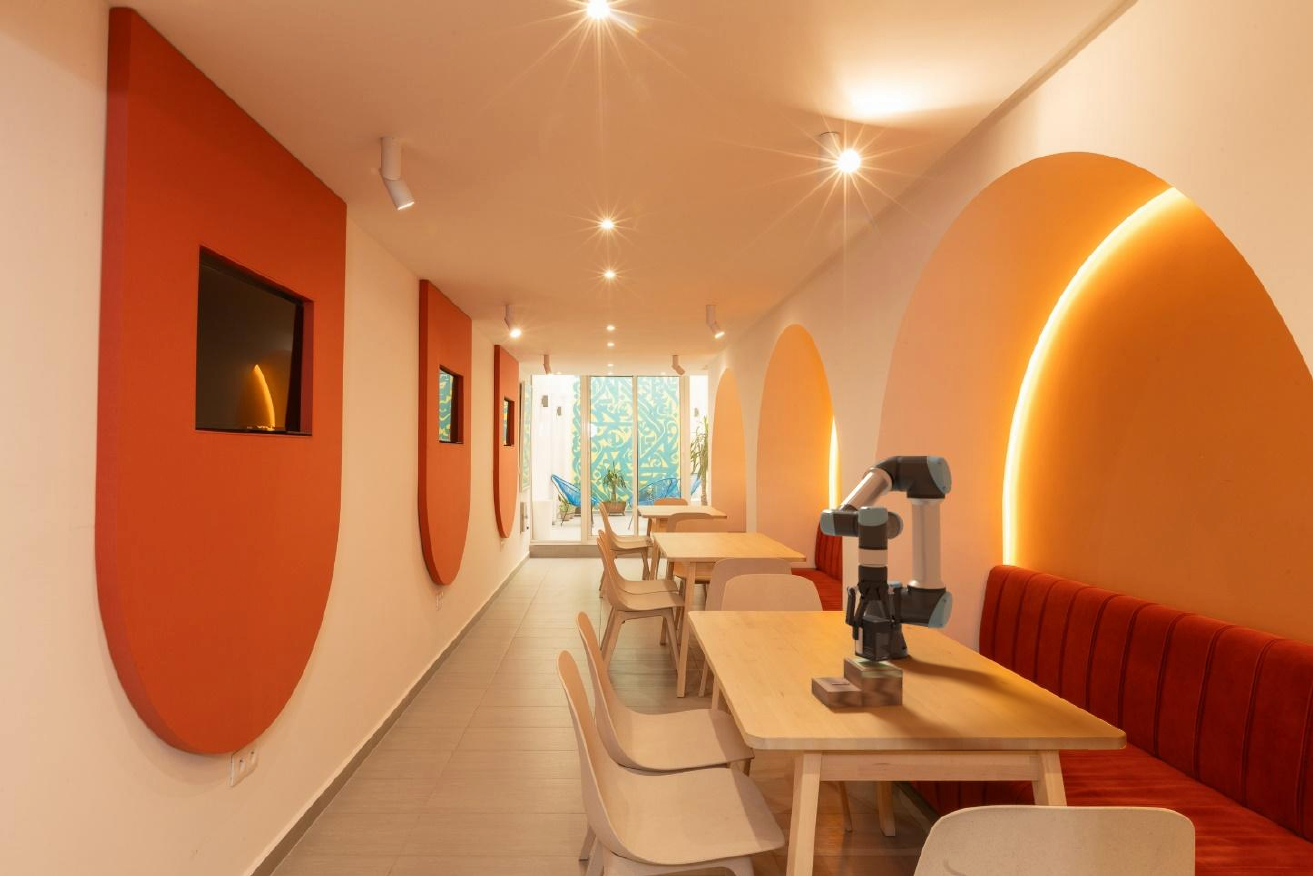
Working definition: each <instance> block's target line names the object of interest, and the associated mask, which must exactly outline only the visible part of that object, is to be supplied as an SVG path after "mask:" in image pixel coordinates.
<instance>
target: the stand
mask: <svg viewBox="0 0 1313 876" xmlns="http://www.w3.org/2000/svg"><path fill="white" fill-rule="evenodd" d="M903 677H904V670H903V669H902V668H900V667H899V666H897V665H895V664H893V663H892V662H890V660H889V661H882V662H873V661H870V660H867V659H864V658H861V657H852V658H843V676H833V677H832V676H831V677H829V676H828V677H811V694H812V695H813V696H815V698H816V699H818V701H820V702H821V703H822V704H823V705H825V707H826V708H829V709H830V708H834V709H835V708H856V707H857V708H858V707H859V708H861V707H863V708H865V707H889V706H890V707H891V706H895V707H896V706H903V693H904V692H903V690H904V689H903V688H904V687H903V686H904V683H903Z"/></svg>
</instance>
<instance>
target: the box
mask: <svg viewBox="0 0 1313 876" xmlns="http://www.w3.org/2000/svg"><path fill="white" fill-rule="evenodd" d="M860 628H862V654H859V653H858V652H856V651H855V650H854V656H856V657H857V658H864V659H867V660H870V661H873V662H882V661H889V662H890V661H891V660H892V659H891V620H888V619H884V618H880V617H876V616H873V615H865V614H864V616H863V619H862V621H861V624H860ZM855 645H856V640H854V646H855Z"/></svg>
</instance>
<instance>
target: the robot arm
mask: <svg viewBox="0 0 1313 876" xmlns="http://www.w3.org/2000/svg"><path fill="white" fill-rule="evenodd" d="M952 481H953V480H952V473H951V469H950V466H949V463H948V461H947V460H946V459H945V458H944V457H941V456H936V455H935V456H934V455H894V456H889V457H886V458H884V459H881V460H879V461H878V462H876V463H874V464H873V465H872V466H870V467H869V468H868V469H867V470H866V471H864V474H863V475H862V477H861V481H860V482H859V483H858V485H856V487H855V488H854V489H853V490H852V491H851V492H850V493H849V495H848V496H846V498H844V500H843V501H842V502H841V503H840V504H839V505H838V506H837V508H836V509H835V508H828V509H827V508H826V509H824V510H823V511H821V514H820V516H819V517H820V518H819V526H820V527H819V528H820V531H821V532H822V533H823V534H824V535H826V536H833V537H850V538H858V547H857V548H858V549H857V551H858V552H857V553H858V554H857V555H858V556H857V560H858V563H859V565H858V566H857V571H858V572H857V580H858V582H857V584H856V586H855V585H854V586H847V587H846V592H847V601H846V602H847V603H846V605H847V606H846V612H845V624H846V625H847V626H850V627H851V628H852V633H851V634H852V636H851V637H852V639H853V640H854V641H855V640H856V645H855V644H854V652H855V651H856V652H858V653H859V654H862V628H860V624H861V621H862V619H863V616H864V615H873V616H876V617H880V618H884V619H888V620H891V660H897V659H904V658H906V657H908V655H909V654H908V653H909V652H908V649H909V648H908V645H907V642H906V639H905V636H904V633H903V624H904V625H909V626H918V627H923V628H928V629H943V628H945V627H947V624H948V622H949V620H950V618H951V613H952V609H953V601H954V600H953V594H952V593H951V591H947V585H946V584H945V582H944V581H943V580H942V578H941V574H942V573H941V570H942V569H941V568H942V567H941V565H942V564H941V560H942V559H941V558H942V557H941V556H942V555H941V504H942V503H943V502H944V501H945V500H946V495H947V494H950V493H951V491H952V486H953V485H952V483H953V482H952ZM890 492H891V493H892V492H901V493H906V499H907V501H909V502H910V504H911V579H909V580H908V581H907V582H906V583H907V584H906V586H904V585H903V582H902V581H898V580H897V581H896V580H888V577H889V576H888V575H889V574H888V572H889V571H888V570H889V568H888V566H887V565H888V563H889V557H888V556H889V555H888V553H889V552H888V551H889V548H888V546H889V545H888V544H889V540H892V539H896V538H897V537H898V536H900V535H901V534H902V532H903V530H904V521H903V519H902V517H901V515H899V514H898V513H896V512H894V511H888V509H887V507H884V506H879V505H878V506H875V504H876V503H877V502H878V501H879V500H880V498H881V497H882V496H883V497H884V496H885V495H888V493H890ZM858 592H859V593H860V596H859V599H858V600H859V601H858V605H857V608H856V603H857V602H856V601H857V595H858Z"/></svg>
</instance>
